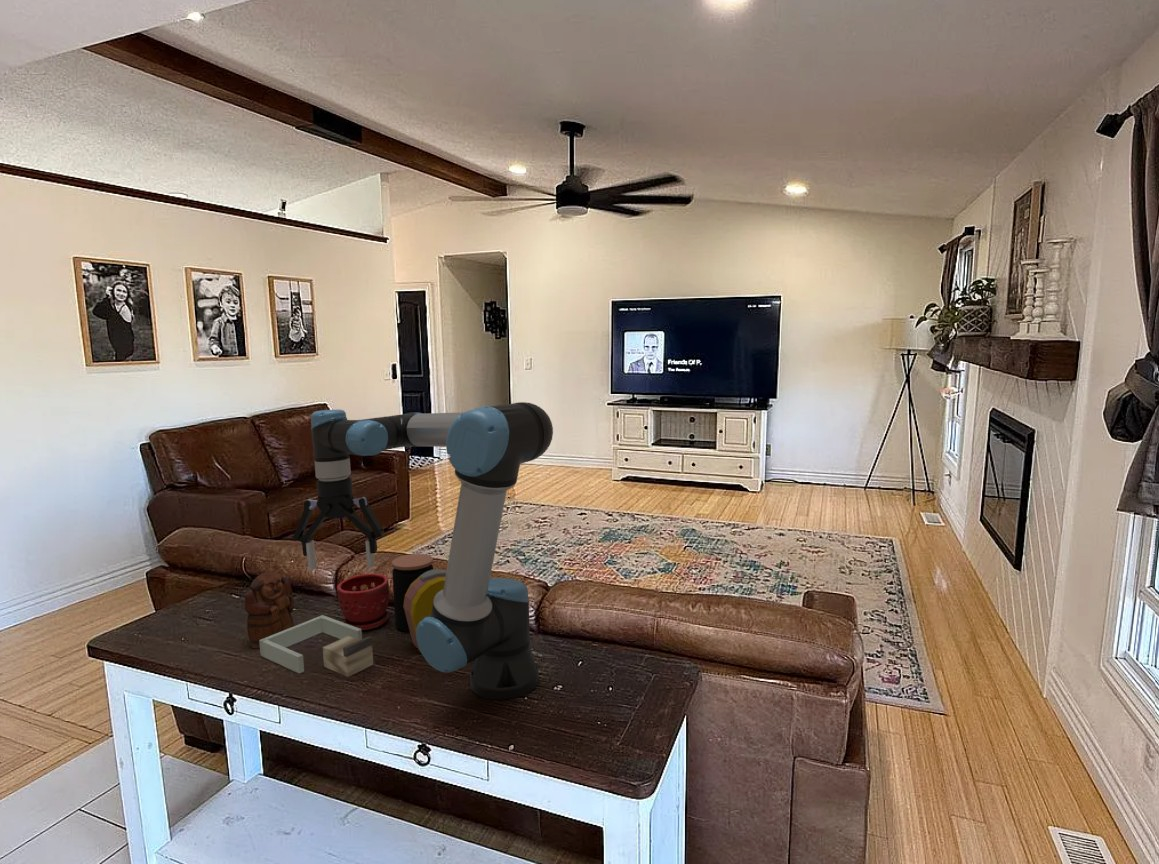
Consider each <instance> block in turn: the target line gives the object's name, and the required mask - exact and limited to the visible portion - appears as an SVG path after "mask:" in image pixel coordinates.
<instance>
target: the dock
mask: <svg viewBox="0 0 1159 864" xmlns="http://www.w3.org/2000/svg"><path fill="white" fill-rule="evenodd" d="M362 631H363V630H362V629H359V628H357V627H354V626H351V625H348V624H346V623H344V621H341V620H338V619H334V618H331V617H329V616H326V615H323V614H321V615H319V616H317V617H314V618H312V619H309V620H306V621H304V622H301V623H298V624H297V625H294V627H291V628H289V629H286V630H284V631H281V632H279V633H276V634H274V635H271V636H269V637H266V638H264V639H261V640H259V642H260V648H259V650H260V651H259V652H260V657H263V658H265V659H267V660H269V661H271V662H273V663H276V664H278V665H280V666H283V667H284V668H286V669H288V670H290V671H293V672H295V673H297V674H299V675H300V674H302V673H304V672H305V667H304V666H305V662H304V655H303V654H302V653H299V652H297V651H294V650H292V649H289V647H291V646H293V645H296V644H298V643H300V642H303V641H304V640H307V639H310V638H312V637H315V636H317V635H319V634H321V633H323V634H326V635H328V636H331V637H333V638H336V639H338V640H340V639H343V638H345V637H347V636H349V637H352V638H355V639H357V640H361V639H363V632H362Z"/></svg>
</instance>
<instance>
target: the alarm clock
mask: <svg viewBox="0 0 1159 864" xmlns="http://www.w3.org/2000/svg"><path fill="white" fill-rule="evenodd" d="M433 569H434V568H433ZM446 571H447V569H441V568H439V569H437V568H436V569H434V570H430V571H427V572H425V573H423V574H422V575H421V576H419V577H418V578H417V579H416V580H415V581H414V582H413V583H412V584H411V585H410V587H409V589H408V590H407V592H406V594H405V599H404V606H403V607H404V610H405V614H406V618H407V622H408V626H409V630H410V632H409V633H410V634H409V635H410V637H411V642H412V644H413V645H414V647H415V648H416V649H417V648H418V649H417V650H418V651H419V652H420V653H421V651H420V649H419V647H418V644H417V639H416V629H417V626H418V624H419V623H420V621H422V620H423V619H424V618H425V617H429V616H430V615H431V613H432V607H433V601H434V597H435V595H436V594H437V593H438V592H439V591H441V590H443V589H444V583H445V577H446Z"/></svg>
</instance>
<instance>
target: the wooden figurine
mask: <svg viewBox="0 0 1159 864" xmlns="http://www.w3.org/2000/svg"><path fill="white" fill-rule="evenodd" d="M294 608H295V601H294V596H293V590H292V585H291V581H290V579H289V578H287V577H284V576H283V575H281V574H280V573H278V572H275V571H267V572H263V573H261V574H259V575H258V576H256V577H255V578H254V579H253V580H252V581H251V583H250V585H249V590H247V591H246V593H245V595H244V610H245V612H246V613H247V614H248V615H247V619H246V627H247V635H248V640H249V642H250V643H249V644H250V647H251V648H252V649H260V642H259V640H261V639H264V638H266V637H269V636H271V635H274V634H276V633H279V632H281V631H284V630H286V629H289V628H291V627H294V626H295V623H294V619H293V616H292V613H293V612H294Z"/></svg>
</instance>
